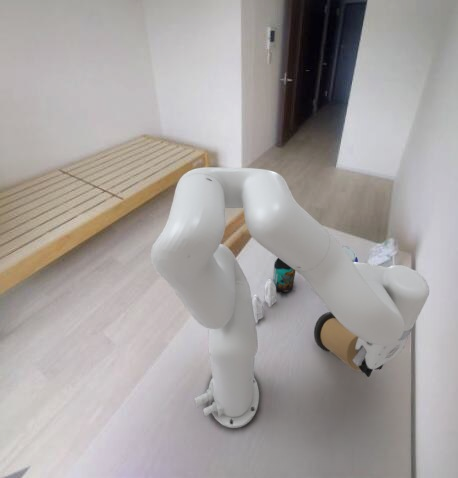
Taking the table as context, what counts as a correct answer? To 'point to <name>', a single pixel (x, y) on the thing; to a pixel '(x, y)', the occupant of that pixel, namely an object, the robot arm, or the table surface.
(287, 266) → the beverage can
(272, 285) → the shaker set
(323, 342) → the towel holder
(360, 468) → the table surface
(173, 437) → the table surface
